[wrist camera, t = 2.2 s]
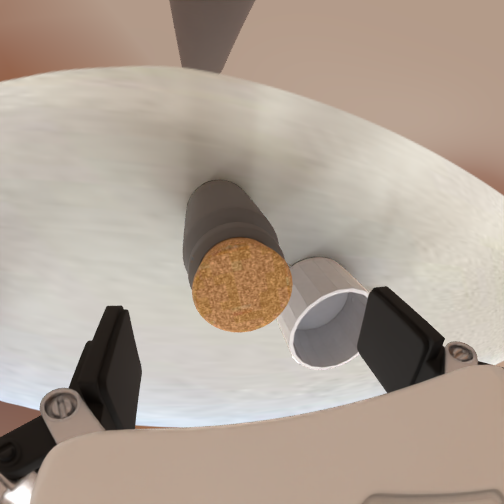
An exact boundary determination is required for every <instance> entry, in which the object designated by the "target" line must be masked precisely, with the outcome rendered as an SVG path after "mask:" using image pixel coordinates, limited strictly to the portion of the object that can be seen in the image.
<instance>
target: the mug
mask: <svg viewBox="0 0 504 504" xmlns="http://www.w3.org/2000/svg"><path fill="white" fill-rule="evenodd" d="M289 269H290V271H291V275H292V282H293V287H292V293H291V297H290V300H289V302H288V304H287V306H286V307H285V309H284V310H283V312H282V313H281V314H280V315H279V316H278V317H277V318H276V321H277V323H278V325H279V328H280V330H281V332H282V334H283V337H284V339H285V341H286V344H287V346H288V348H289V350H290V353H291V355H292V357H293V358H294V359H295V360H296V361H297V362H298V363H299V364H300V365H302V366H304V367H307V368H309V369H316V370H325V369H331V368H336V367H338V366H341V365H343V364H345V363H347V362H349V361H351V360H352V359H354V358H355V357H356V356H358V355H359V352H358V350H357V343H358V339H359V335H360V330H361V326H362V322H363V318H364V313H365V309H366V304H367V299H368V295H369V293H370V292H369V291H367V290H366V289H365V288H364V287H363V286H362V285H361V284H360V283H359V282H358V281H357V280H356V279H355V278H354V277H353V276H352V275H351V274H350V273H349V272H348V271H347V270H346V269H345V268H344V267H343V266H341V265H340V264H339V263H338V262H336V261H334V260H332V259H329V258H324V257H314V258H308V259H305V260H302V261H300V262H298V263H296V264H294V265H293V266H291V267H290V268H289Z"/></svg>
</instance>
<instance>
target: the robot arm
mask: <svg viewBox="0 0 504 504" xmlns="http://www.w3.org/2000/svg"><path fill="white" fill-rule="evenodd" d="M444 340H445V338H444V337H443V336H442V335H441V334H440V333H439V332H438V331H436V330H435V329H434V328H433V327H432V326H431V325H430V324H429V323H428V322H427V321H426V320H424V319H423V318H422V317H421V316H420V315H419V314H418V313H417V312H416V311H414V310H413V309H412V308H411V307H410V306H409V305H408V304H407V303H405V302H404V301H403V300H402V299H401V298H400V297H399V296H398V295H396V294H395V293H394V292H393V291H392V290H391V289H389V288H388V287H387V286H385V287H376V288H373V290H372V292H370V293H369V295H368V299H367V304H366V309H365V313H364V318H363V322H362V326H361V330H360V335H359V339H358V343H357V350H358V352H359V354H360V355H361V357H362V358H363V359H364V361H365V362H366V364H367V365H368V366H369V368H370V369H371V371H372V372H373V373H374V375H375V376H376V378H377V379H378V380H379V382H380V383H381V385H382V386H383V387H384V389H385V390H386V392H387V393H386V394H383V395H380V396H376V397H373V398H369V399H365V400H362V401H358V402H354V403H350V404H346V405H342V406H338V407H333V408H329V409H324V410H320V411H315V412H310V413H305V414H300V415H294V416H288V417H282V418H276V419H270V420H263V421H255V422H247V423H239V424H229V425H218V426H205V427H189V428H167V429H166V428H165V429H135V421H136V413H137V404H138V396H139V389H140V382H141V375H142V370H141V364H140V360H139V356H138V352H137V348H136V343H135V339H134V335H133V330H132V325H131V321H130V316H129V312H128V310H124V309H123V307H122V306H107V307H106V309H105V311H104V314H103V316H102V318H101V321H100V323H99V326H98V328H97V330H96V333H95V335H94V338H93V340H92V341H88V342H87V343H86V345H85V347H84V350H83V352H82V355H81V357H80V360H79V362H78V365H77V367H76V370H75V373H74V375H73V378H72V380H71V383H70V386H69V388H58V389H55V390H52V391H51V392H49V393H48V394H46V395H45V396H44V398H43V399H42V401H41V403H40V412H41V416H39V417H37V418H35V419H33V420H32V421H30V422H28V423H26V424H24V425H22V426H21V427H19V428H17V429H15V430H13V431H11V432H9V433H7V434H6V435H4V436H2V437H0V504H504V368H503V367H500V366H495V365H491V364H487V363H483V362H479V361H478V359H477V354H476V352H475V351H474V349H473V348H472V347H470V346H469V345H467V344H465V343H462V342H457V341H455V342H450V343H448V344H447V345H446V347H444V346H443V342H444Z"/></svg>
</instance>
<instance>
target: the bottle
mask: <svg viewBox="0 0 504 504" xmlns="http://www.w3.org/2000/svg"><path fill="white" fill-rule="evenodd" d="M183 261H184V265H185V268H186V270H187V273H188V279H189V283H190V287H191V289H192V296H193V301H194V304H195V306H196V309H197V310H198V312H199V313H200V315H201V316H202V317H203V318H204V319H205V320H206V321H207V322H208V323H210V324H211V325H213V326H215V327H217V328H219V329H222V330H225V331H230V332H247V331H253V330H256V329H259V328H261V327H264V326H266V325H267V324H269V323H271V322H272V321H273V320H275V319H276V318H277V317H278V316H279V315H280V314H281V313H282V312H283V310H284V309H285V307H286V306H287V304H288V302H289V300H290V297H291V293H292V287H293V282H292V275H291V271H290V269H289V267H288V265H287V263H286V261H285V258H284V255H283V253H282V250H281V248H280V246H279V242H278V238H277V235H276V233H275V231H274V229H273V227H272V225H271V224H270V222H269V221H268V220H267V218H266V217H265V216H264V215H263V213H262V212H261V211H260V210H259V208H258V207H257V206H256V205H255V204H254V202H253V201H252V200H251V199H250V198H249V196H248V195H247V194H246V193H245V192H244V191H243V190H242V189H241V188H240V187H239V186H237V185H236V184H234V183H232V182H229V181H224V180H214V181H210V182H207V183H205V184H203V185H201V186H200V187H199V188H197V189H196V190H195V192H194V193H193V194H192V196H191V197H190V199H189V202H188V205H187V211H186V218H185V228H184V239H183Z"/></svg>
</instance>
